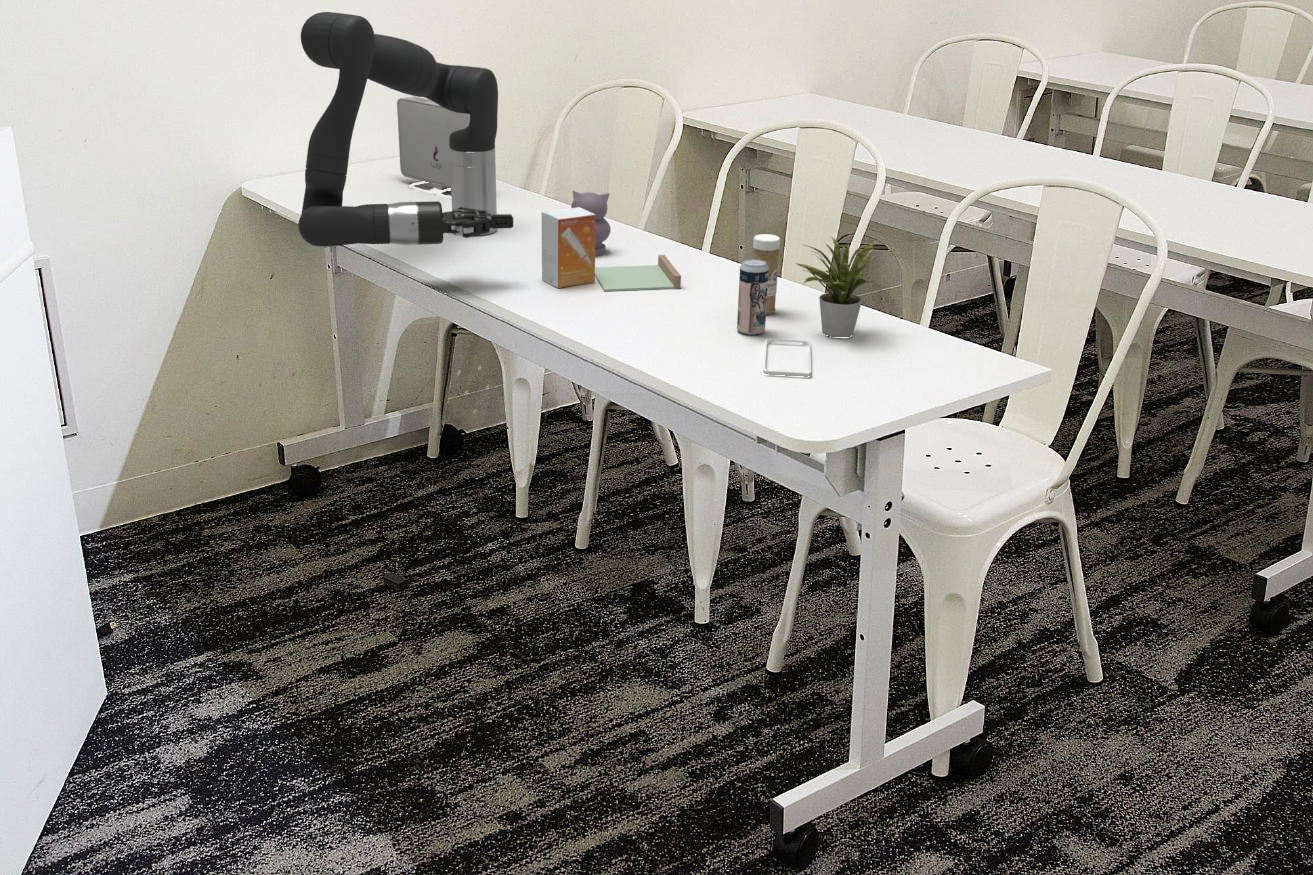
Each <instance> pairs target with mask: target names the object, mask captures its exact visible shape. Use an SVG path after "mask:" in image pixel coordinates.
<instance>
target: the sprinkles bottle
mask: <svg viewBox="0 0 1313 875" xmlns="http://www.w3.org/2000/svg"><path fill="white" fill-rule="evenodd" d="M752 242H753V245H752V247H753V259H759V260H763V261H766V263H767V266H768V268H769V274H768V290H767V307H766V316H767V315H768V316H769V315H773V314H774V313H776V301H777V300H776V299H777V298H776V296H777V292H778V291H777V288H778V287H777V286H778V274H779V273H778V270H779V269H778V264H779V252H780V247H781V238H780V237H779V236H778V235H775V234H770V233H769V234H767V233H765V234H756V235H754V237H753V241H752Z"/></svg>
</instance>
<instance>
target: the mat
mask: <svg viewBox="0 0 1313 875" xmlns="http://www.w3.org/2000/svg"><path fill="white" fill-rule="evenodd" d="M657 259H658V260H657V261H658V262H657V264H654V265H652V264H651V265H650V264H648V265H647V264H646V265H626V266H625V265H624V266H623V265H622V266H600V267H599V266H598V267H596V266H595V279H597V282H598V283H599V285H600V286H601V288H602V290H603V292H623V291H624V292H626V291H627V292H628V291H631V292H632V291H650V290H652V291H653V290H674V289H675V290H676V289H681V285H682V284H681V282H682V275H681V274H680V273H679V272H678V270H677V269H676V268H675V266H674V265H673V264H672V263H671V262H670V260H669V259H668V257H667V256H666V255H665V254H658V256H657Z"/></svg>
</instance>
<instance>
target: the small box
mask: <svg viewBox="0 0 1313 875" xmlns="http://www.w3.org/2000/svg"><path fill="white" fill-rule="evenodd" d="M595 231H596V215H595V214H593V213H591V212H589V211H587V210H585V209H582V208H580V207H577V208H571V207H570V208H562V209H561V208H560V209H554V210H549V211H547V210H546V211H541V280H542V281H544V282H546V284H549V285H551V286H552V287H555V288H557V289H560V288H567V287H571V286H572V287H574V286H578V285H579V286H580V285H586V284H594V283H595V281H596V276H595V267H596V256H595Z"/></svg>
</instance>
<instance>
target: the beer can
mask: <svg viewBox="0 0 1313 875" xmlns="http://www.w3.org/2000/svg"><path fill="white" fill-rule="evenodd" d="M768 274H769V268H768V266H767V263H766V261H763V260H759V259H754V258H750V259H749V258H748V259H745V260H743V261H742V262H741V264H740V266H739V280H738V296H737V297H738V300H737V317H736V319H737V320H736V329H737V331H738V332H740V333H741V332H742V333H741V334H743V333H745V334H744V335H746V334H748V335H749V336H757V335H756V334H758V335H760V334H762V333H764V332H765V331H766V324H767V323H766V320H767V319H766V318H767V315H766V307H767V290H768ZM748 335H747V336H748Z"/></svg>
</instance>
